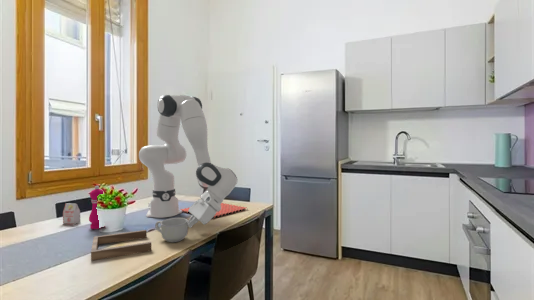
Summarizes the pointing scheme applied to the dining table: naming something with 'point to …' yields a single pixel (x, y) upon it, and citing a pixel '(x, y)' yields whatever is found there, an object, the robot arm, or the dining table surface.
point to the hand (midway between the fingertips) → (188, 226)
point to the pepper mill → (94, 208)
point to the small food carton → (71, 214)
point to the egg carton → (223, 209)
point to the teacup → (173, 229)
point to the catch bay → (119, 250)
